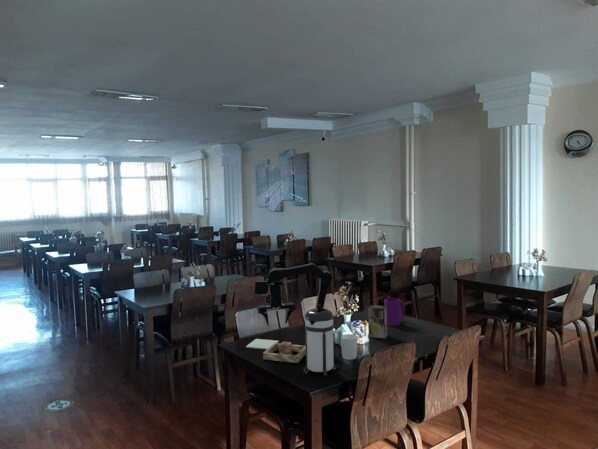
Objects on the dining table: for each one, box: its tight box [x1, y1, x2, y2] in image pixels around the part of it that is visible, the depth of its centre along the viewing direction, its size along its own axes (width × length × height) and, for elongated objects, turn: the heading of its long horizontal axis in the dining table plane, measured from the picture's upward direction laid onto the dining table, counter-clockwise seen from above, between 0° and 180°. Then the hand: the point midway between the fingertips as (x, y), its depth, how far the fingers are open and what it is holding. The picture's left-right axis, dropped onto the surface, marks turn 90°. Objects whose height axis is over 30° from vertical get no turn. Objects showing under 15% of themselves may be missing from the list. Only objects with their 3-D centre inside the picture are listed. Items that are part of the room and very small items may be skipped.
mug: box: [383, 297, 405, 327], centre depth 280 cm, size 9×16×15 cm, turn 134°
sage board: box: [245, 338, 280, 351], centre depth 245 cm, size 13×13×1 cm
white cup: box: [340, 333, 359, 361], centre depth 224 cm, size 8×8×10 cm
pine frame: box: [262, 342, 306, 364], centre depth 228 cm, size 17×15×3 cm
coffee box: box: [367, 305, 388, 339], centre depth 256 cm, size 9×6×16 cm
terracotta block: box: [278, 341, 293, 355], centre depth 228 cm, size 4×5×6 cm
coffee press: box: [302, 304, 337, 378], centre depth 208 cm, size 17×16×30 cm
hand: (276, 324), depth 236 cm, fingers open, 9 cm apart
